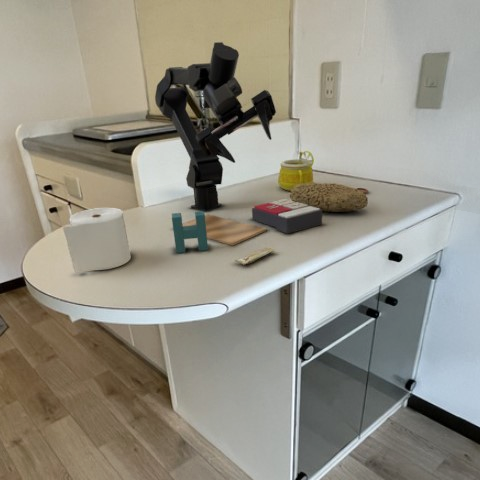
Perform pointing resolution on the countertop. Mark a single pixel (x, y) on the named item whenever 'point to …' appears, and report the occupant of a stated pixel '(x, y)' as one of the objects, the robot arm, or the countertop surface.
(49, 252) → the countertop surface
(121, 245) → the toilet tissue
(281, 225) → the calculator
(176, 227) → the letter H
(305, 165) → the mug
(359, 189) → the key
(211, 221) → the wooden board
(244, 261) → the snack bar
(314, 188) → the sponge
